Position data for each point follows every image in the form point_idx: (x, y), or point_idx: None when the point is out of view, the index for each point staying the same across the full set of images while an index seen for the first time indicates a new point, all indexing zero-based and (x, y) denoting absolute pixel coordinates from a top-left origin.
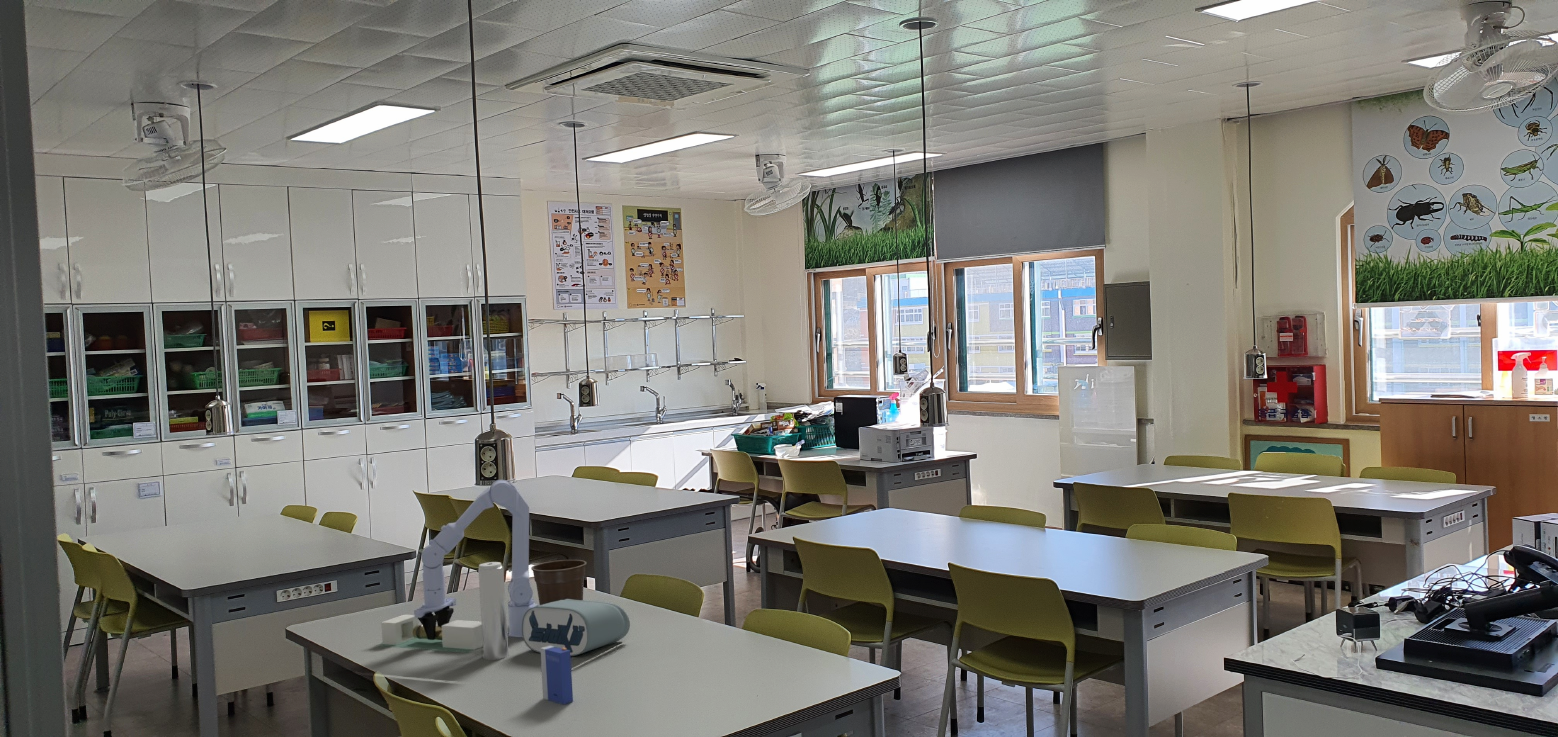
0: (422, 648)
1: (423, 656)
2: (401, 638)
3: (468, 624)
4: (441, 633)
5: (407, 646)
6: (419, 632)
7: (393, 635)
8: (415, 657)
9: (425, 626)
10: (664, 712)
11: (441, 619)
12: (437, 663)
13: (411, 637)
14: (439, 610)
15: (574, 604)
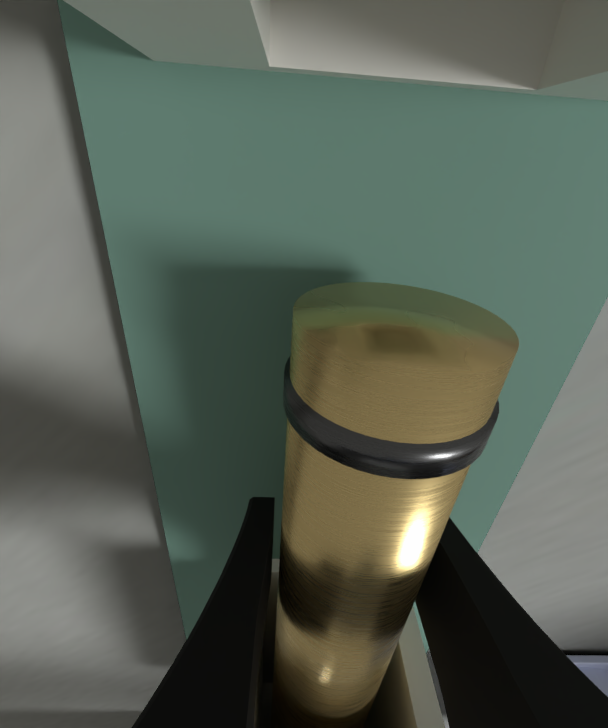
0: (166, 463)
1: (62, 532)
2: (258, 55)
3: None
4: (277, 637)
5: (161, 289)
6: (289, 432)
7: None
8: (14, 504)
9: (209, 652)
10: None
11: (482, 724)
12: (16, 638)
13: (520, 51)
14: None
15: None
